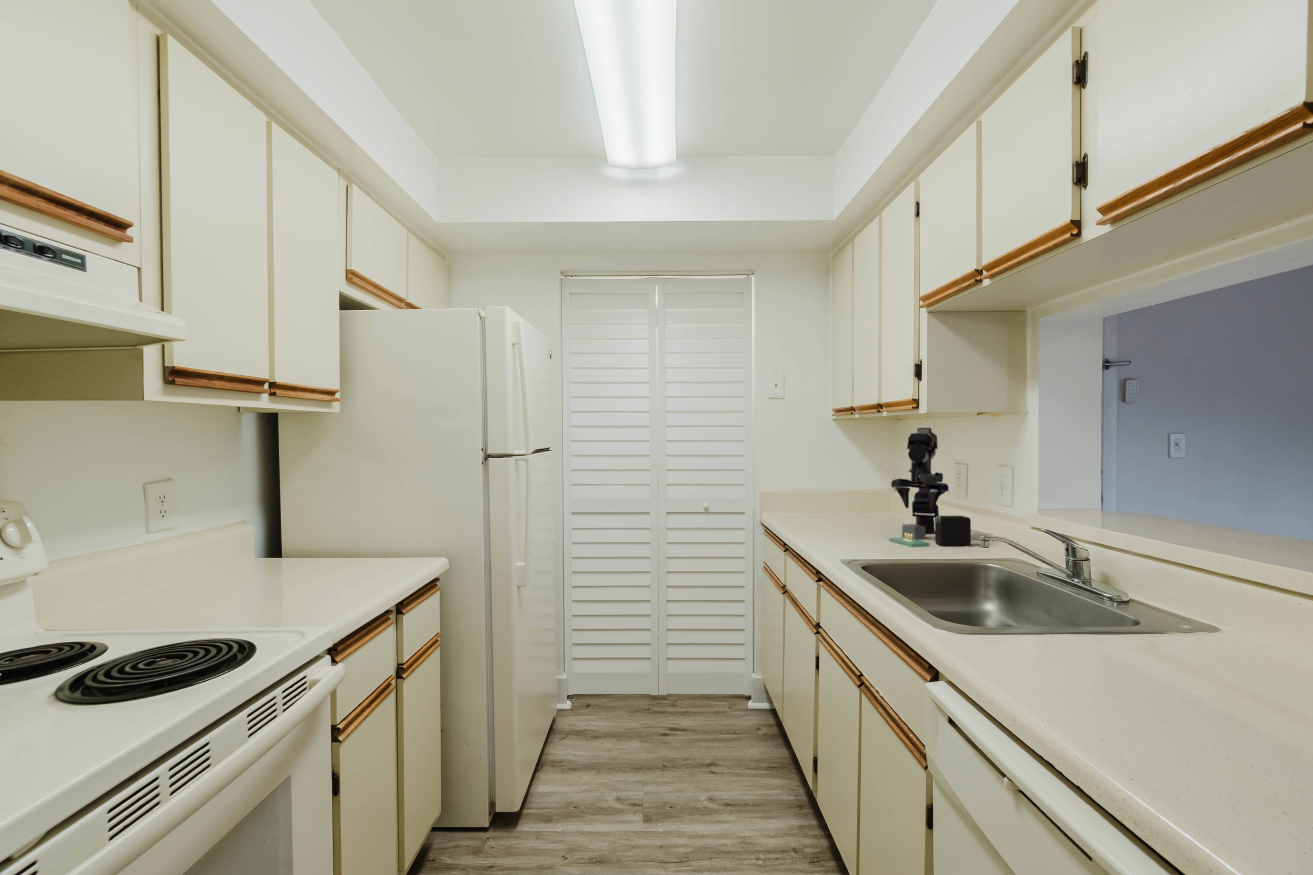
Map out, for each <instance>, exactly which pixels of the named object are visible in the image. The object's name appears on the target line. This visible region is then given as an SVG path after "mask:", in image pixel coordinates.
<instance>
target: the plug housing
mask: <svg viewBox="0 0 1313 875" xmlns="http://www.w3.org/2000/svg"><path fill="white" fill-rule="evenodd" d="M901 529H902V530H901V531H902V532H901V533H902V535H901V537H905V533H907V537H908V533H910V534H913V539H915V540H919V541H920V540H926V539H927V538H926V534H925V527H924V526H919V525H916V524H914V523H909V524H907V523H906V524H902V528H901ZM910 538H911V535H910Z"/></svg>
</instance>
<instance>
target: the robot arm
mask: <svg viewBox="0 0 1313 875" xmlns="http://www.w3.org/2000/svg"><path fill="white" fill-rule="evenodd" d="M916 430H917V431H916V432H913V433H910V434H909V435H908V439H907V447H906V449H907V450H908V453H907V454H908V457H909V460H910V461H911V462H910V463H911V464H910V465H911V466H910V469H909V470H908V472H909V473H911V474H910V480H909V479H908V478H907V479H906V478H897V479H896V478H895V479H892V481H891V484H890V486H891V488H894V490H895V491H897V493H898V495H899V497H900V498H901V500H902V503H903V505H904V507H905V508H906V509H909V506H910V503H909V502H910V501H909V500H910V498H909V496H910V495H909V493H910V490H911V488H915V489H918V490H917V492H915V494H914V496H913V497H914V498H913V501H912V502H911V508H912V509H911V511H912V512H911V513H912V518H913V517H915V525H919V526H924V527H925V535H926V534H935V517H936V516H940V513H939V506H938V504H937V502H938V499H939V498H940V497H941V496H942V495H943V494H945V493H946V492H950V491H949V488H950V487H949V485H948V483H945V482H943V480H944V475H943V473H942V472H935V473H932V459H934V457H935V456H936V453H937V452H936V451H937V450H938V449H939V448H938V446H939V444H938V443H939V442H938V441H939V440H938V435H936V434H935V433H934V432H933V431H932V428H931V427H918V428H917V429H916Z"/></svg>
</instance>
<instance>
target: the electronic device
mask: <svg viewBox="0 0 1313 875" xmlns="http://www.w3.org/2000/svg"><path fill="white" fill-rule="evenodd" d="M971 522H972V521H971V518H970V517H968V516H964V515H939V516H936V517H935V518H934V531H935V533H934V534H935V538H934V540H935V544H936V545H938V546H941V547H949V548H950V547H951V548H953V547H957V548H961V547H965V546H969V547H971V545H972V543H971V542H972V540H971V538H972V537H971V536H972V535H971V533H972V530H971V529H972V527H971V525H972V524H971Z"/></svg>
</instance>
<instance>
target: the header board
mask: <svg viewBox="0 0 1313 875" xmlns="http://www.w3.org/2000/svg"><path fill="white" fill-rule="evenodd" d="M910 535H911V538H910ZM888 540H889V542H892V543H896V544H899V545H904V546H908V547H910V548H915V547H916V548H918V547H919V548H920V547H930V542H927V541H923V540H920V539H919V540H915V539H913V534H910V533H908V537H907V533H905V537H903V536H901V537H889V538H888Z"/></svg>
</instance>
